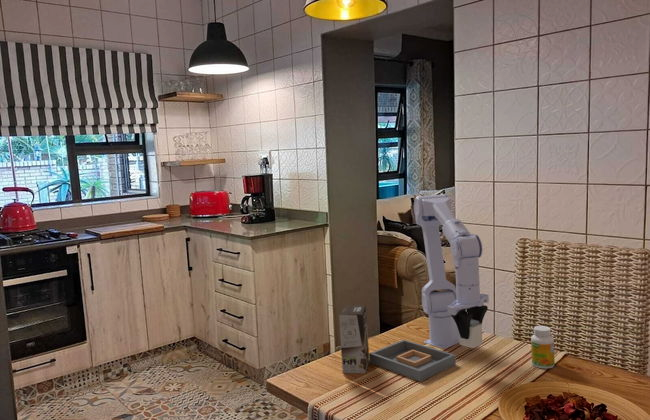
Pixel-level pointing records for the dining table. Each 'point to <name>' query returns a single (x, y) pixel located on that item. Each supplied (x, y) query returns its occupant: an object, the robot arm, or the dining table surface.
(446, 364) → the walled box
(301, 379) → the dining table surface
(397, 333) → the dining table surface
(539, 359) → the supplement bottle
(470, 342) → the plug block
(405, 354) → the inlet socket
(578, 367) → the dining table surface
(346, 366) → the coffee box
